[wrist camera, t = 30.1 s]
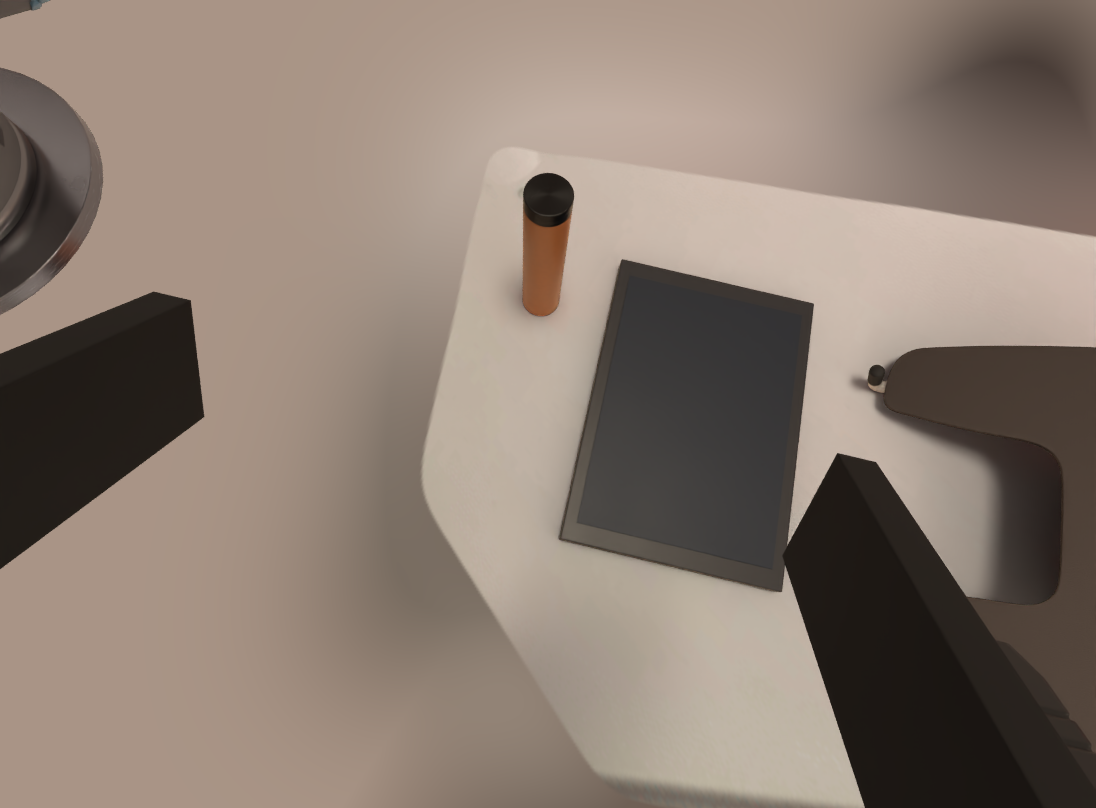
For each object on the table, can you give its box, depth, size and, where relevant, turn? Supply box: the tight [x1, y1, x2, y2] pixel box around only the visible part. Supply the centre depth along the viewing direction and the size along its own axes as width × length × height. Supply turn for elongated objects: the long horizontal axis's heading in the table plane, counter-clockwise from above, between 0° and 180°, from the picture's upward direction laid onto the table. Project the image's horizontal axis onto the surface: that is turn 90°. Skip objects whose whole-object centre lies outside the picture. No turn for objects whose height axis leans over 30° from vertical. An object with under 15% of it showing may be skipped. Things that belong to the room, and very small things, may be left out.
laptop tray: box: [868, 346, 1096, 753], centre depth 34 cm, size 23×23×9 cm
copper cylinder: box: [523, 173, 574, 316], centre depth 35 cm, size 3×3×12 cm
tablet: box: [559, 260, 814, 592], centre depth 38 cm, size 14×20×1 cm
